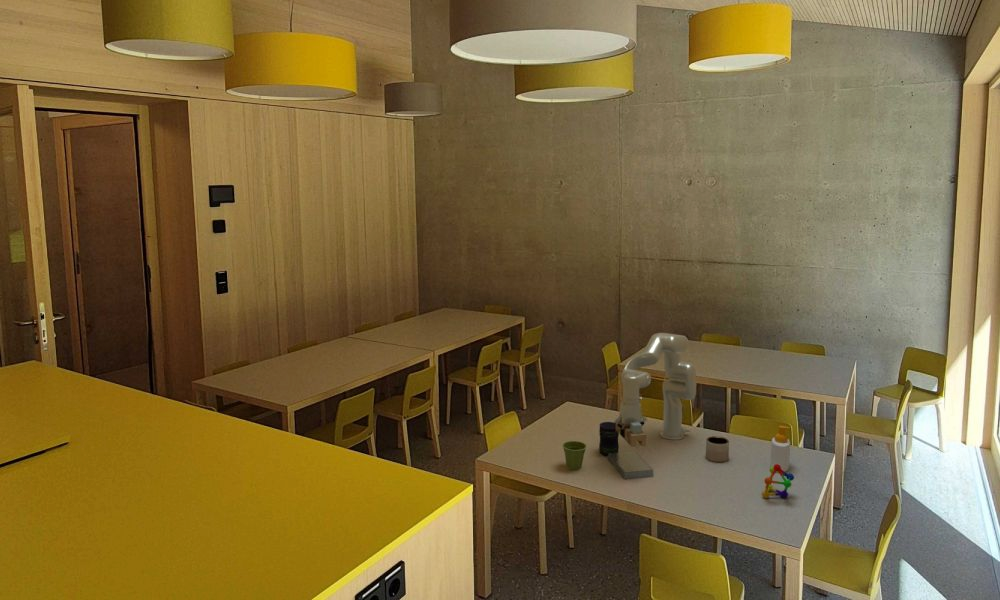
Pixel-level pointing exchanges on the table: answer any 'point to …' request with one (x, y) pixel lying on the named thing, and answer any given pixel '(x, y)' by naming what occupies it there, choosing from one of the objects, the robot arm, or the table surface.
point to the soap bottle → (780, 449)
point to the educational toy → (777, 482)
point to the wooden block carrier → (632, 436)
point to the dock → (630, 465)
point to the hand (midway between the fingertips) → (630, 435)
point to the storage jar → (608, 438)
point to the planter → (717, 449)
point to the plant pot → (574, 454)
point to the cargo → (636, 428)
